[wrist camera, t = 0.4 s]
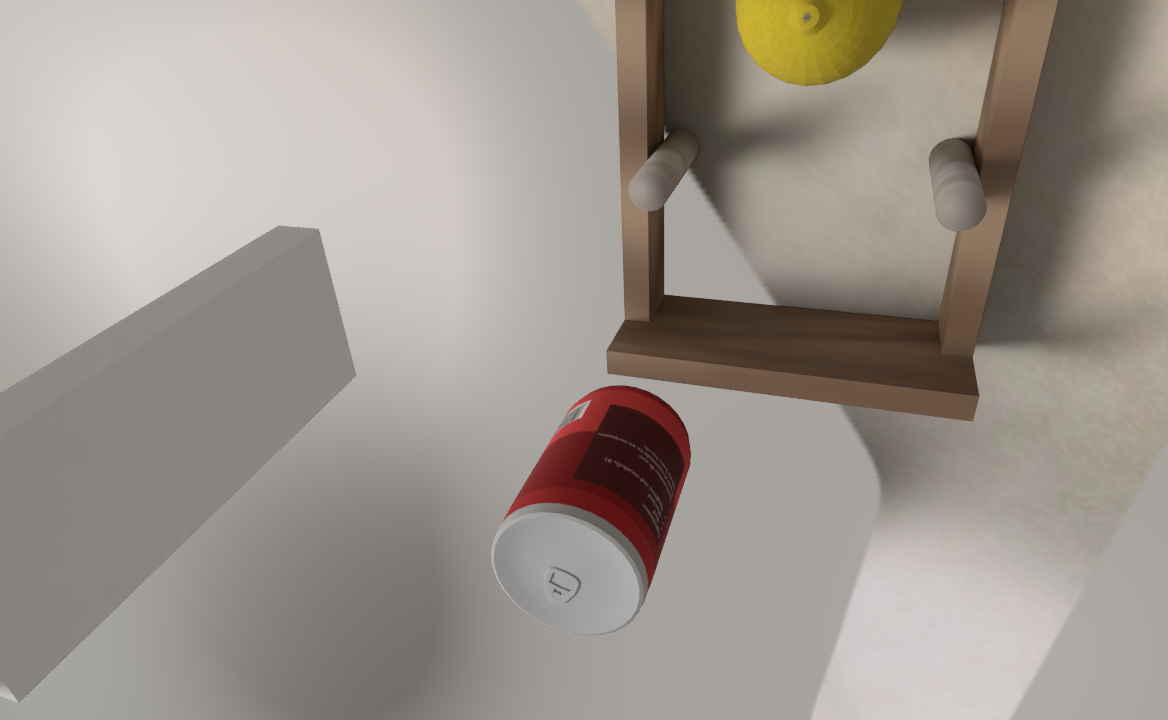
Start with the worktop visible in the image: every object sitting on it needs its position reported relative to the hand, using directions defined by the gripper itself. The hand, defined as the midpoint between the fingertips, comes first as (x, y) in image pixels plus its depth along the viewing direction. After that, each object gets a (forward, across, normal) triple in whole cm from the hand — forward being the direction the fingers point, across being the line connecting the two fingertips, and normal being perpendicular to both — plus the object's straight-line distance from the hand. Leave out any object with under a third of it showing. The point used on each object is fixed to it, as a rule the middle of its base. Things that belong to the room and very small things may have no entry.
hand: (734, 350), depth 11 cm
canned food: (+25, -9, -22) cm, 34 cm away
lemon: (+25, -1, +2) cm, 25 cm away
